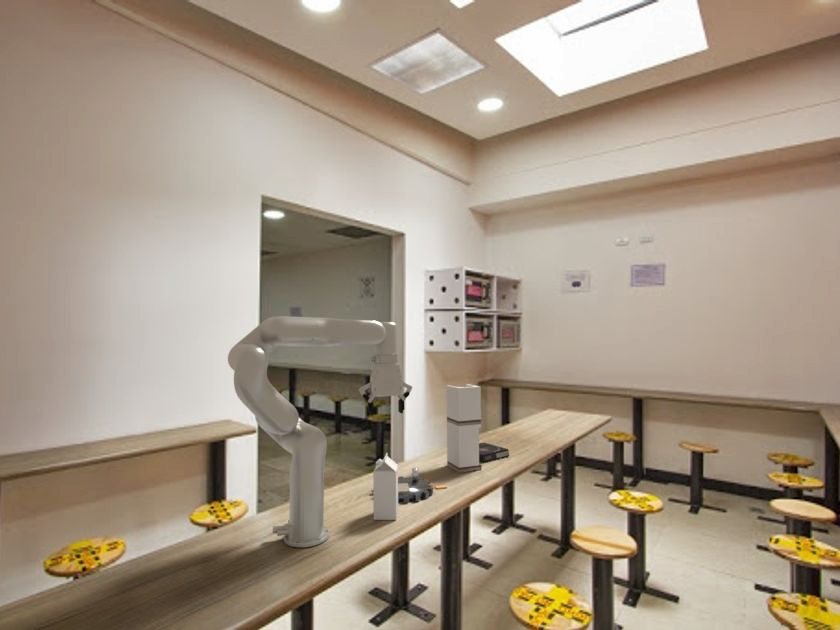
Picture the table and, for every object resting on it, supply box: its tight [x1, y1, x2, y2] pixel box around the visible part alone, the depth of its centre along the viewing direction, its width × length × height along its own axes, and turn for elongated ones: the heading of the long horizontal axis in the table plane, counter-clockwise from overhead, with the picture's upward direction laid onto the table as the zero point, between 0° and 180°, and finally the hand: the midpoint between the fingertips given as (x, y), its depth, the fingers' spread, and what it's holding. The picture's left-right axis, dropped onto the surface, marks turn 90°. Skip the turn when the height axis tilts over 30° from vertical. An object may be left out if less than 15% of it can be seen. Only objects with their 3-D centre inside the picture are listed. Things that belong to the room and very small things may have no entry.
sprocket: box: [398, 467, 434, 503], centre depth 166 cm, size 22×22×6 cm
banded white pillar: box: [446, 383, 483, 473], centre depth 196 cm, size 11×11×35 cm
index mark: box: [434, 484, 448, 490], centre depth 170 cm, size 4×2×1 cm, turn 108°
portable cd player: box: [479, 442, 510, 464], centre depth 214 cm, size 16×17×4 cm
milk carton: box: [372, 452, 399, 521], centre depth 144 cm, size 7×7×19 cm
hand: (386, 413), depth 146 cm, fingers open, 9 cm apart
